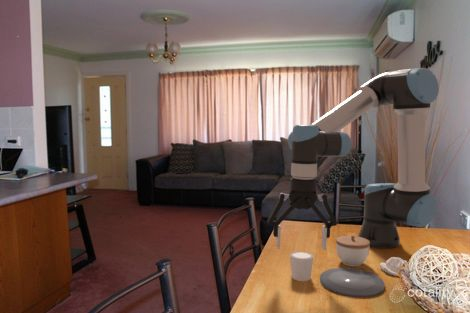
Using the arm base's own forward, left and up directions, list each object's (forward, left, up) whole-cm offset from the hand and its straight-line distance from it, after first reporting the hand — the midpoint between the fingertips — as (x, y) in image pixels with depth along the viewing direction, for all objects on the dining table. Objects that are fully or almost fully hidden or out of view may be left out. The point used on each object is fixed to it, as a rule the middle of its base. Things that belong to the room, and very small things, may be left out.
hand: (300, 247), depth 118 cm
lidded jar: (-19, -12, -9) cm, 25 cm away
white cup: (0, 0, -9) cm, 9 cm away
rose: (-31, -5, -10) cm, 33 cm away
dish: (-14, +4, -9) cm, 17 cm away
